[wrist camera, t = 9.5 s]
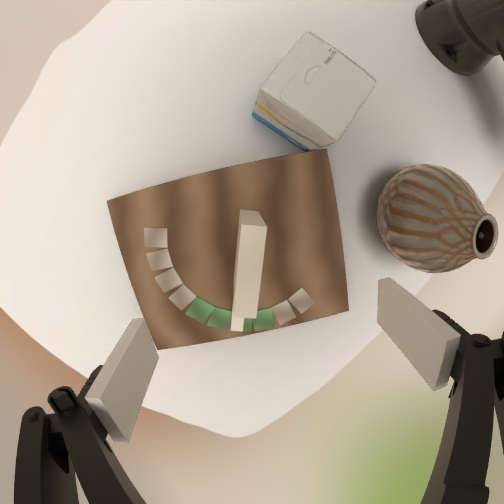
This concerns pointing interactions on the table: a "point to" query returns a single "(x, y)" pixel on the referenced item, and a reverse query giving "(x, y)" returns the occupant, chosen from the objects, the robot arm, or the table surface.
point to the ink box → (312, 94)
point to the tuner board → (233, 248)
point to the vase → (434, 220)
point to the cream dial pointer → (248, 267)
